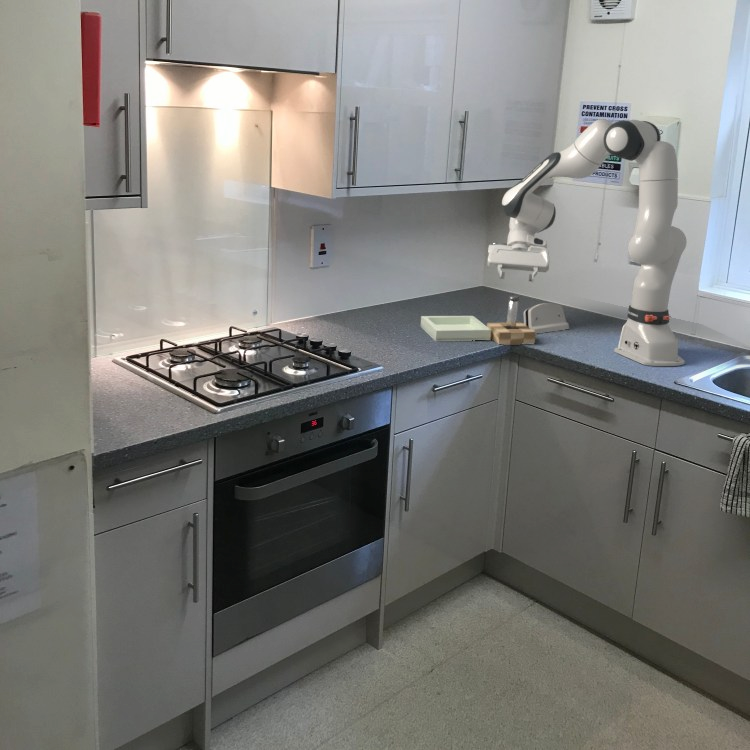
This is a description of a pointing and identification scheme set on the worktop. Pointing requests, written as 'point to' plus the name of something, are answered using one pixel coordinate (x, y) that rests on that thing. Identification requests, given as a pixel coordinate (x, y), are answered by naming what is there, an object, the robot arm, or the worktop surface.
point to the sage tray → (455, 328)
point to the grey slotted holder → (545, 318)
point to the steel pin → (512, 312)
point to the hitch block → (511, 334)
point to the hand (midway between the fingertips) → (516, 279)
